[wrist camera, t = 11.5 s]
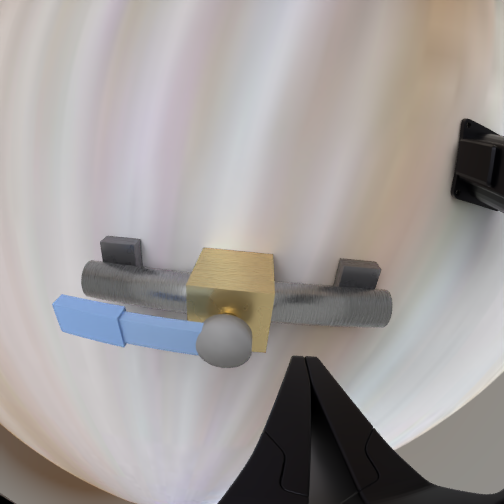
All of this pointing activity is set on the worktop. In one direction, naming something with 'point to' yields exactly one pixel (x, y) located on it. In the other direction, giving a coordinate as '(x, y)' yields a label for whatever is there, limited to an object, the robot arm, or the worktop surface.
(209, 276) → the pipe run
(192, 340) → the valve lever
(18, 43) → the worktop surface
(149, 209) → the worktop surface
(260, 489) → the robot arm
